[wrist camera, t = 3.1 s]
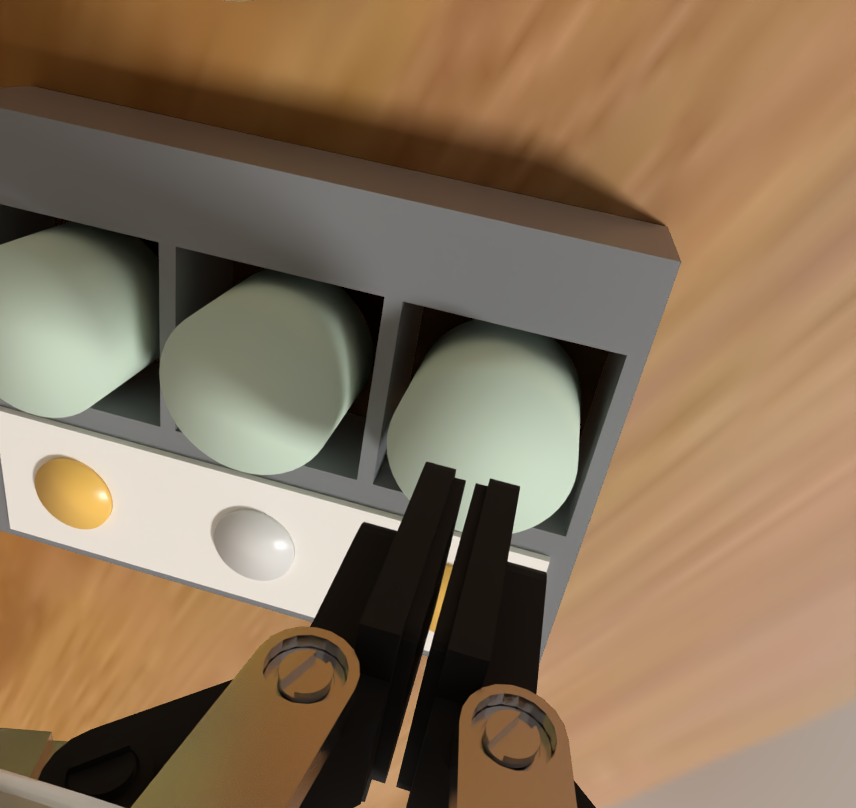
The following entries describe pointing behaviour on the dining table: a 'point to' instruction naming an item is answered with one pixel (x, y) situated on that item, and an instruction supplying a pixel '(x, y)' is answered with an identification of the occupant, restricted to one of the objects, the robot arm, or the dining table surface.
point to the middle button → (266, 371)
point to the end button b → (492, 417)
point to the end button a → (75, 317)
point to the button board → (319, 260)
